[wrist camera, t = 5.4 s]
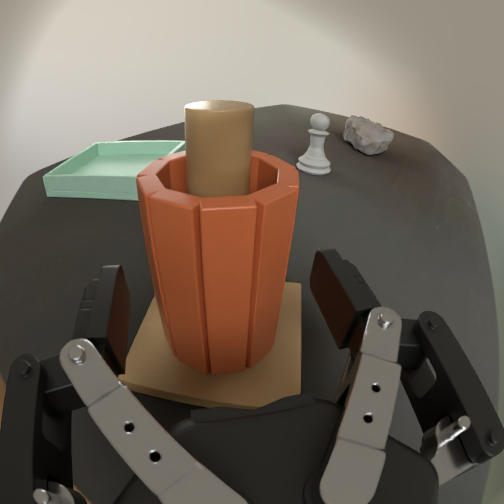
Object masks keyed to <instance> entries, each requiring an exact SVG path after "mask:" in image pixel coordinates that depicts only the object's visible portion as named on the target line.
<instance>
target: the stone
mask: <svg viewBox="0 0 504 504" xmlns="http://www.w3.org/2000/svg"><path fill="white" fill-rule="evenodd" d="M343 136H344V140H345V141H347V142H350V143H351V144H353V147H354V148H355V149H357V150H360V151H361V152H363V153H364V154H367V155H373V154H379V153H381V152H383V151H385V150H386V149H387V146H388V145H389V144H390V143H391V141H392V139H393V137H394V133H392V132H391V131H390V130H387V129H384V128H383V126H382V125H381V124H379V123H374V122H372V121H370V120H369V119H366V118H363V117H356V116H351V117H349V118H348V119H347V121H346V124H345V131H344V135H343Z"/></svg>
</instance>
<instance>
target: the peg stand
mask: <svg viewBox="0 0 504 504" xmlns="http://www.w3.org/2000/svg"><path fill="white" fill-rule="evenodd" d="M253 119H254V106H253V105H251V104H249V103H244V102H238V101H224V100H223V101H222V100H221V101H220V100H216V101H201V102H195V103H190V104H188V105H186V106H185V153H186V180H187V194H190V195H194V196H198V197H202V198H205V197H223V196H243V195H249V187H250V170H251V153H252V136H253ZM118 379H119V380H120V381H121V383H124V384H125V385H126V386H127V388H128V389H129V390H132V391H135V392H139V393H143V394H147V395H151V396H155V397H159V398H163V399H168V400H172V401H177V402H182V403H187V404H192V405H197V406H203V407H208V408H214V407H229V408H239V409H258V408H260V407H262V406H265V405H267V404H269V403H272V402H274V401H276V400H279V399H281V398H283V397H287V396H292V395H297V394H300V392H301V284H300V283H292V282H285V285H284V291H283V296H282V302H281V308H280V314H279V319H278V325H277V330H276V336H275V341H274V345H273V346H272V350H271V351H270V352H269V353H267V354H266V355H265V356H264V357H263V358H262V359H261V360H260V361H258V362H257V363H256V364H255V365H254V366H253V367H252V368H250V369H249V368H248V367H247V366H246V367H245V371H240V372H232V373H223V374H214V375H212V374H211V369H210V370H209V371H208V373H207V374H206V373H203V372H201V371H199V370H197V369H195V368H193V367H191V366H189V365H187V364H185V363H183V362H181V361H179V360H178V357H175V356H174V354H173V352H172V350H171V348H170V346H169V343H168V341H167V339H166V337H165V334H164V330H163V326H162V322H161V318H160V314H159V309H158V305H157V301H156V296H154V298H153V300H152V302H151V305H150V307H149V309H148V311H147V313H146V315H145V317H144V320H143V322H142V324H141V326H140V328H139V331H138V333H137V335H136V337H135V339H134V342H133V344H132V346H131V349H130V351H129V353H128V355H127V358H126V367H125V374H123V375H119V377H118Z"/></svg>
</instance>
